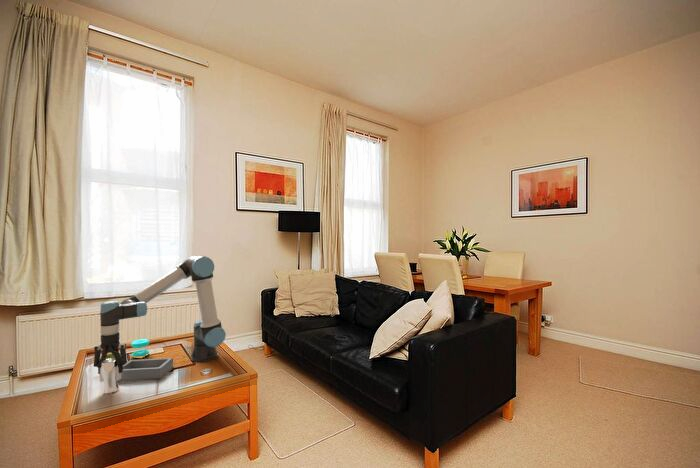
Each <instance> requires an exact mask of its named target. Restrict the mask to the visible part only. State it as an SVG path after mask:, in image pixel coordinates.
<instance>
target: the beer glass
mask: <svg viewBox="0 0 700 468" xmlns="http://www.w3.org/2000/svg"><path fill="white" fill-rule="evenodd" d="M117 366H118V365H117V362H116V360H115V358H111V359H107V360H104V361H103V362H101V373H102V378H103V381H102V382H103V386H104V387H103V394H106V395H108V394H112V393H115V392H118V391H119V389H120V387H119V384H118V383H119V382H118V380H117V381H116V367H117Z"/></svg>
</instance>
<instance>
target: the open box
mask: <svg viewBox="0 0 700 468" xmlns="http://www.w3.org/2000/svg"><path fill="white" fill-rule="evenodd" d="M172 368H173V369H174V358H173V357H168V358H167V357H166V358H148V359H147V358H144V359H143V358H141V359H130V360H127V363H126V364H125V365H123V372H121V379H119V380H118V383H125V382H126V383H127V382H141V381H143V382H144V381H159V380H162V379H163V378H164V377H165V376H166V375H168V374H169V372H171V371H172V370H173V369H172Z"/></svg>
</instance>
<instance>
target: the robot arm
mask: <svg viewBox="0 0 700 468" xmlns="http://www.w3.org/2000/svg"><path fill="white" fill-rule="evenodd" d="M214 271H215V263H214V261H213V260H212V259H211V258H210V257H208V256H206V255H192V256H190V257H188V258H186V259H184V260H183V261H182V262H179V264H177V265H176V266H175V268H174V269H173V270H172V271H170V272H168V273H167V274H165V275H163V276H162V277H160V278H159V279H157V280H156V281H154V282H153V283H151V284H149V285H147V286H146V287H145V288H143V289H141V290H140V291H138V292H137V293H135V294H134V295H132V296H131V297H128V298H125V299H123V300H121V302H119V301H118V300H110V301H104V302H102V303H101V304H100V312H99V313H100V314H99V316H100V318H99V319H100V344H98V345H95V346H94V347H93V350H94V355H93V356H94V357H93V367H94V368H97V371H98V372H97V374H98V375H99V382H104V381H103V378H102V373H101V362H103V361H104V360H105V359H106V356H107V355H108V354H113V355H114V358H115V360H116V362H117V365H118V366H117V367H116V381H117V380H119V379H121V372H123V365H125V364H126V363H127V362H128V359H127V358H128V357H127V351H126V347H127V343H120V332H119V331H120V320H126V319H127V320H128V319H133V318H140V317H144V316H147V313H148V304H147V303H149V302H151V301H152V300H154V299H155V298H157V297H158V296H160V295H161V294H163V293H164V292H166V291H167V290H169V289H170V288H171V287H173V286H175V285H177V284H178V283H180V282H181V281H182V280H187V279H189V278H190V277H191V281H192V282H193V283H195V289H196V294H197V300H198V305H199V311H200V318H201V320H198V321H195V322H194V323H193V349H192V352H191V355H190V360H191V361H192V362H195V363H197V362H198V363H199V362H202V363H203V362H207V361H212V360H214V359H216V358H217V357H218V350H217V347H219V346H221V345H222V344H223V342H224V341H225V340H226V330H225V329H224V328H223V327H222V321H221V320H220V319H219V318H218V314H217V307H216V300H215V295H214V288H213V284H212V279H213V278H214ZM101 350H102V351H101ZM119 353H120V354H121V356H120V354H119Z"/></svg>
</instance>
